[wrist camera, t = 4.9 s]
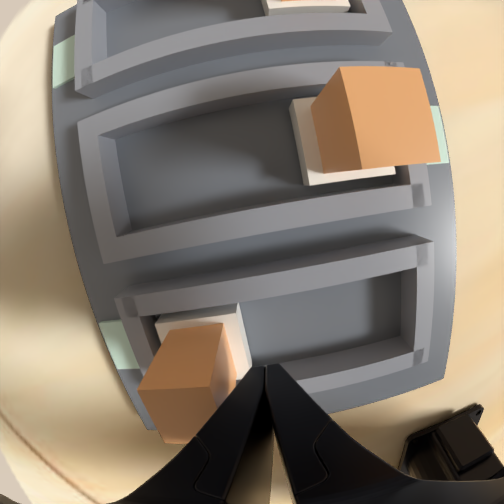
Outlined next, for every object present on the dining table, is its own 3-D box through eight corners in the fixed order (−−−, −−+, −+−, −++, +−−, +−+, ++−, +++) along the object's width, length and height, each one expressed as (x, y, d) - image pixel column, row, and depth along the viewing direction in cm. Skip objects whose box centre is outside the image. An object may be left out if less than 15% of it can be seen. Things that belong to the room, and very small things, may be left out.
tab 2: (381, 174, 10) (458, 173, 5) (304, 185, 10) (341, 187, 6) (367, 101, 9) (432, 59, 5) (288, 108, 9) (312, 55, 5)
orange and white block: (252, 360, 12) (249, 446, 7) (183, 368, 12) (153, 448, 7) (238, 299, 11) (226, 374, 6) (163, 310, 11) (116, 380, 7)
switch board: (435, 368, 13) (455, 392, 11) (152, 418, 14) (140, 447, 12) (371, -36, 8) (386, -60, 6) (65, 23, 9) (41, 6, 7)
